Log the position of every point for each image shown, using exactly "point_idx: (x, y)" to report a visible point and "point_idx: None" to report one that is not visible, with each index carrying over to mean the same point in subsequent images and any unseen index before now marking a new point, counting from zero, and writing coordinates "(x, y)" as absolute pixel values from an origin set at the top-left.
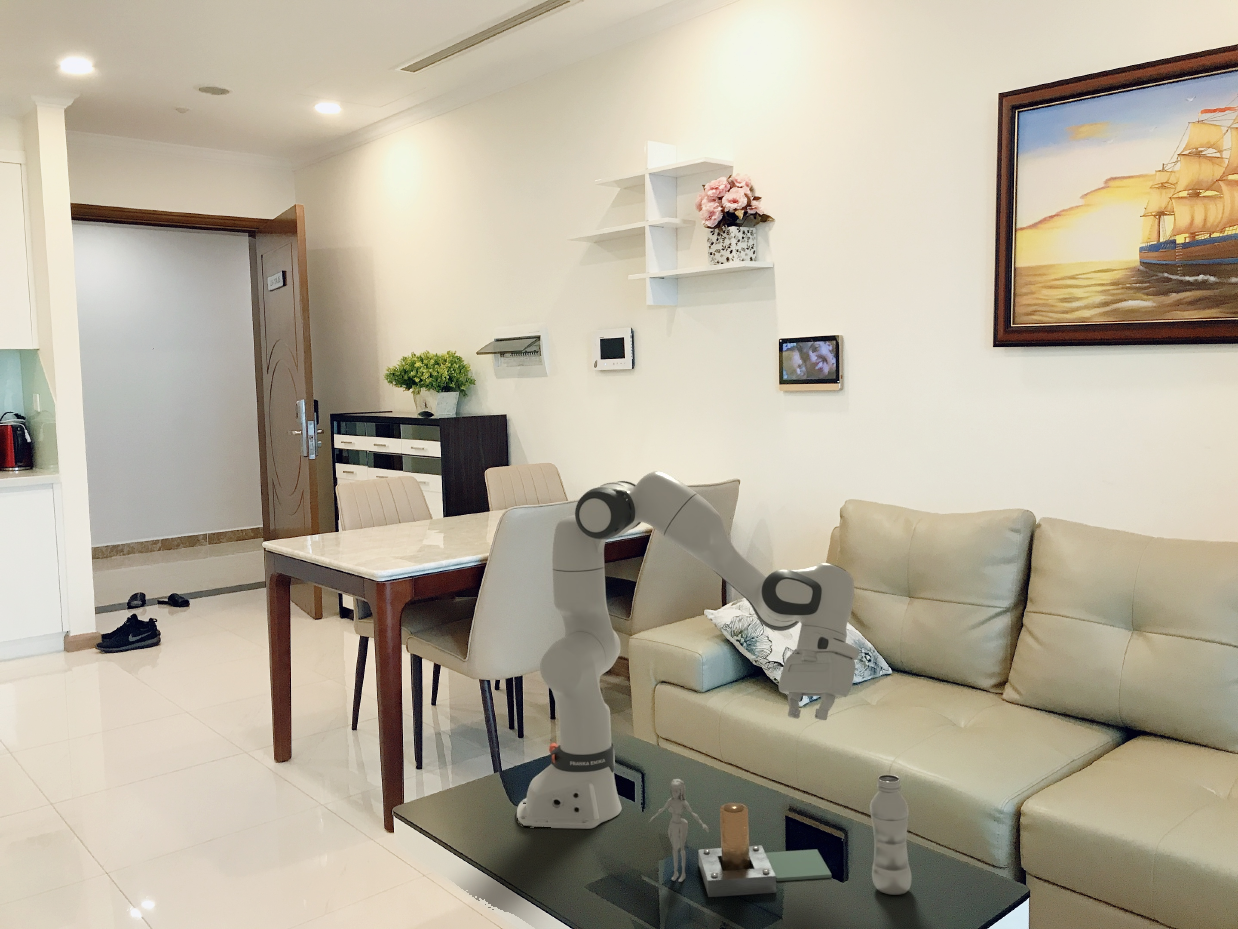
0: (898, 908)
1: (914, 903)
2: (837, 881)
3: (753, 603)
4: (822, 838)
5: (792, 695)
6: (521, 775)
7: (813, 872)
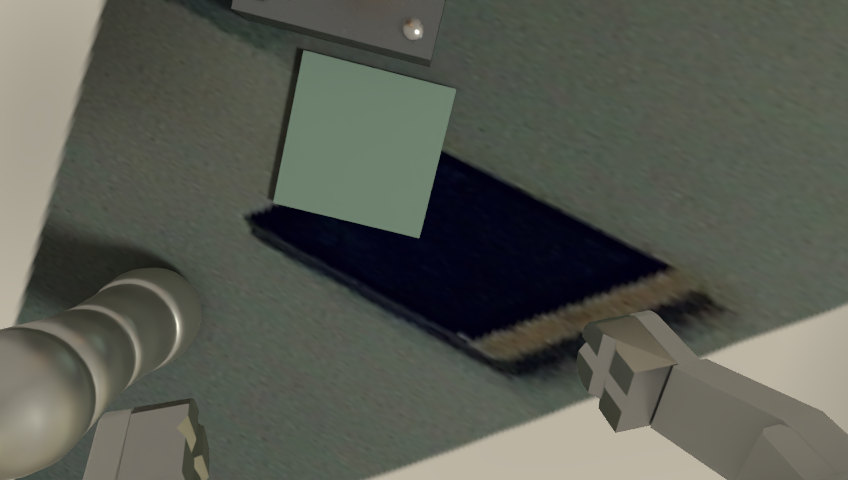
0: (83, 274)
1: None
2: (252, 206)
3: None
4: (491, 292)
5: (785, 467)
6: None
7: (298, 162)
